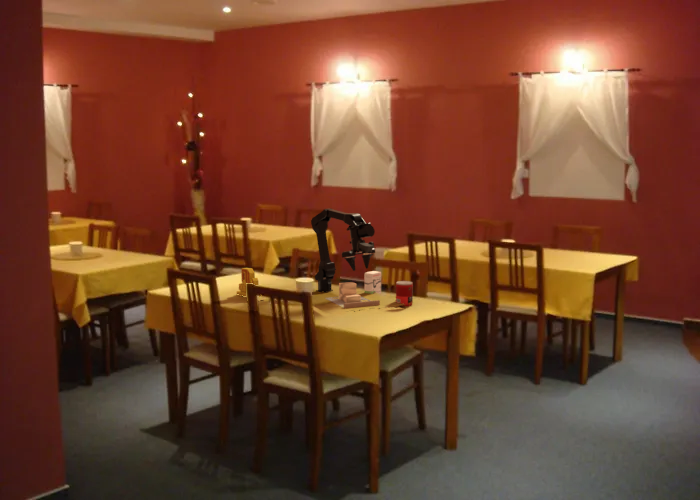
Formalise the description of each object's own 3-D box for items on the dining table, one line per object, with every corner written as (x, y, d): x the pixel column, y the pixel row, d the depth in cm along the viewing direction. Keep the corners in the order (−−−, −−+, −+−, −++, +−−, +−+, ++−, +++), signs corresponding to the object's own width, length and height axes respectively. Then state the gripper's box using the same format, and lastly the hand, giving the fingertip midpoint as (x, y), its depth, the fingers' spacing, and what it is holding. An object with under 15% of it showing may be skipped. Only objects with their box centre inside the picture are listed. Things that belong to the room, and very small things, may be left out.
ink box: (371, 296, 381) (371, 273, 379) (363, 295, 384) (363, 272, 382) (381, 294, 388) (381, 271, 386) (373, 292, 391) (373, 270, 389)
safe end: (338, 308, 355) (338, 301, 354) (373, 304, 362) (373, 297, 362) (344, 311, 349) (344, 303, 348) (379, 307, 356) (379, 300, 355)
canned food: (411, 307, 357) (411, 284, 356) (394, 306, 359) (394, 283, 357) (413, 303, 365) (413, 281, 363) (397, 302, 366) (397, 280, 365)
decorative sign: (264, 300, 373) (263, 270, 371) (259, 301, 371) (258, 271, 369) (241, 294, 388) (240, 265, 386) (236, 295, 386) (235, 266, 384)
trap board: (324, 301, 371) (324, 298, 371) (358, 297, 378) (358, 294, 378) (338, 308, 355) (338, 305, 355) (373, 304, 362) (373, 301, 362)
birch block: (339, 299, 368) (339, 283, 367) (352, 297, 371) (352, 281, 370) (347, 303, 359) (347, 286, 358) (360, 301, 362) (360, 285, 361)
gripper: (355, 238, 363) (359, 271, 363) (381, 235, 376) (385, 266, 377) (339, 241, 371) (343, 272, 371) (364, 237, 384) (368, 267, 385)
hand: (360, 269), depth 376 cm, fingers open, 9 cm apart
